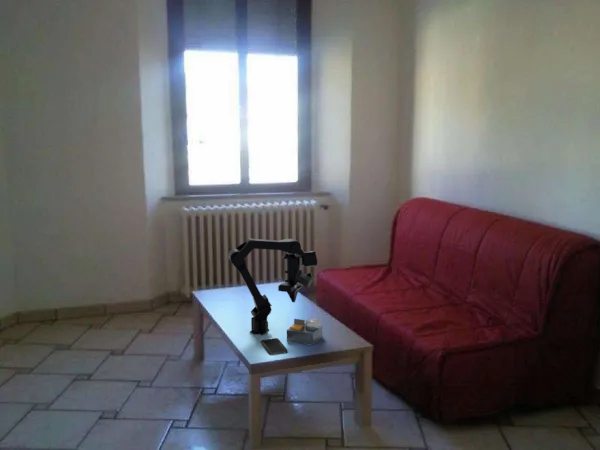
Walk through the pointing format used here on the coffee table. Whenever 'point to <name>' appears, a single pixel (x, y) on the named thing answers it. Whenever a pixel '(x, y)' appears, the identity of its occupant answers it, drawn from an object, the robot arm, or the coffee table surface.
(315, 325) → the grey rounded piece
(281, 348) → the phone
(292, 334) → the hitch block
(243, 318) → the coffee table surface
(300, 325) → the grey orange block
